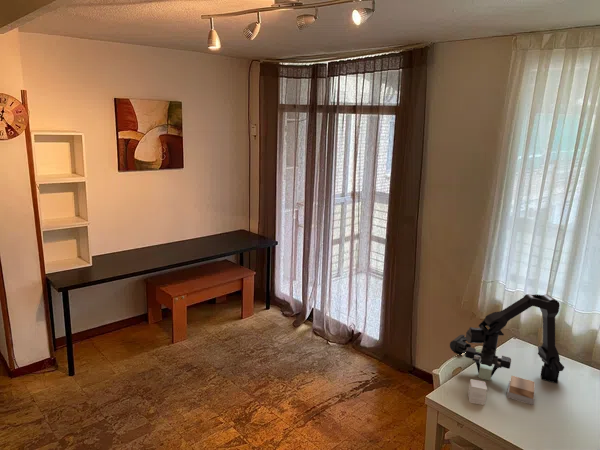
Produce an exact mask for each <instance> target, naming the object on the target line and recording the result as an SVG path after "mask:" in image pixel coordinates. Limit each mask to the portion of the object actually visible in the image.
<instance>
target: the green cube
mask: <svg viewBox="0 0 600 450" xmlns="http://www.w3.org/2000/svg"><path fill="white" fill-rule="evenodd" d="M493 367H494V365H492V366H488V365H483V364H481V363H480V370H479V373H478V375H477V376H478V378H479V379H482V380H486V381H489V382H490V381H491V380H492V377H491V373H492V370H493Z"/></svg>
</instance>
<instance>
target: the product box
mask: <svg viewBox="0 0 600 450" xmlns="http://www.w3.org/2000/svg"><path fill="white" fill-rule="evenodd" d="M487 392H488V388H487V383H486V381H484V380H478V379H471V378H470V380H469V386H468V392H467V396H468V402H469V403H472V404H477V405H483V406H485V405H486V398H487Z"/></svg>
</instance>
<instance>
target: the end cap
mask: <svg viewBox="0 0 600 450" xmlns="http://www.w3.org/2000/svg"><path fill="white" fill-rule="evenodd" d="M468 347H471V348H472V343H468V342H467V339H466V334H460V335H458V336H457V337H455V338H454V339H453V340H451V341H450V342H449V348H450V350H451V351H452V352H453V354H456V355H459V356H461V355H460V354H462V353H465V352H466V349H467V348H468Z"/></svg>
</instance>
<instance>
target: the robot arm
mask: <svg viewBox="0 0 600 450" xmlns="http://www.w3.org/2000/svg"><path fill="white" fill-rule="evenodd" d="M532 307H536V308H539V309H540V312H541V314H542V345H541V346H538V347H537V350H538V352H537V355H538V356H539V358H540V359H541V361H542V362H543V365H542V366H541V369H540V370H541V371H540V376H541V380H544V381H547V382H551V383H554V384H558V383H559V377H560V372H563V371H564V369H565V366H564V364H562V362H561V358H560V355H559V354H560V353H559V352H558V349H557V346H556V317H557V315H558V314H559V311H560V302H559V301H558V300H556V299H555V298H554V297H552V296H551V295H549V294H542V295H541V294H530V293H528V294H527V293H526V294H524V296H523V297H521V298H520V299H518V300H517V301H515V302H514V303H512V304H510V305H509V306H506V307H505V308H503V309H502V310H500V311H495V312H492V313H489V314H487V315H486V316H485V318H484V319H483V320H482V321H481V322H480V323H479V324H478V327H471V326H470V327H469V329H467V331H466V332H465V337H466V339H467V341H466V343H468V344H482V348H481V351H480V352H478V351H477V348H476V347H475V348H473V347H472V346H471V347H468V348H467V349H466V353H465V355H464V357H465V358H467V359H470V360H471V359H472V361H473V362H475V364H476V368H477V373H478V374H479V370H480V365H481V364H483V365H488V366H493V369H492V373H491V378H492V377H493V375H494V374H495V372H496V371H497V370H498V369H502V368H504V369H510V368H511V364H512V363H511V362H512V359H511V357H509V356H505V355H501V357H500V356H497V355H496V354H497V353H496V352H497V348H498V342H499V336H505V334H504V333H503V332H502V330H503V329H504V328H505V327H506V326H507V324H508V323H509V321H511V320H512V319H513V318H515V317H517V316H519V315H520V314H522V313H523V312H525V311H527V310H528V309H530V308H532Z"/></svg>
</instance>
